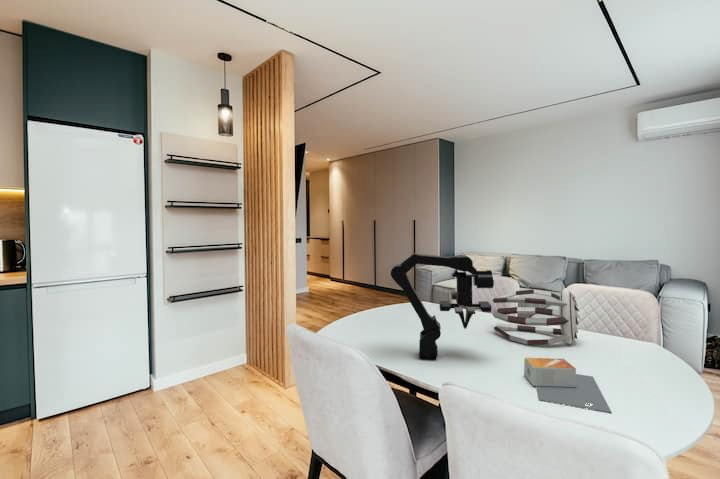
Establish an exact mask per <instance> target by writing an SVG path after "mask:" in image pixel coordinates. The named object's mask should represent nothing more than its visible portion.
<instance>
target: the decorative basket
mask: <svg viewBox="0 0 720 479" xmlns="http://www.w3.org/2000/svg"><path fill="white" fill-rule="evenodd" d="M531 294H535V295H540V296H545V297H550V298H553V299H548V298H546V299H545V298H535V297H534V298H533V297H532V298H531V297H515V296H523V295H531ZM554 299H556V300H554ZM492 302H493V303H494V304H497V303H498V304H500V303H502V304H503V303H513V304H514V303H517V304H519V303H520V304H532V305H533V304H534V305H545V306H555V307H558V310H557V309H554V308H545V307H537V306H532V307H531V306H526V307H525V306H514V307H502V308H497V310H496V311H493V313H492V314H491V315H492V316H493V317H494V318H495V319H498V320H500V321H504V322H507V323H499V322H497V324H496V325H495V326H494V327H493V330H494V331H496V332H497V333H499V334H500V335H502V336H504V337H505V338H507V339H508V340H510V341H512V342H517V343H519V344H523V345H527V346H542V345H544V346H545V345H546V346H547V345H548V346H549V345H552V344H555V343H560V342H563V341H564V342H565V343H566V344H567V345H571V344H572V343H573V344H575V345H577V343H576V340H575V339H577V340H578V335H577V334H579V330H578V326H577V325H579V321H578V318H579V319H580V316H579V314H578V312H580V310H579V308H578V307H579V305H578V303H577V301H576V296H575V295H574V294H573V293H572V292H571V290H569V288H567V287H565V288H563V289H562V291H561V293H560V295H557V294H556V293H554V292H551V291H544V290H539V289H526V290H525V289H524V290H515V291H513V292H512V291H511V292H509V293H505V294H502V295H499V296H497V297H494V298H492ZM515 314H529V315H532V314H534V315H535V314H536V315H543V316H549V317H548V318H546V317H545V318H544V317H543V318H542V317H539V318H538V317H523V316H522V317H521V316H516V315H515ZM510 323H511V324H510ZM545 326H546V327H545ZM549 326H559V327H560V328H552V327H549ZM505 330H506V331H516V332H525V333H535V334H545V335H555V337H552V338H549V339H545V338H544V339H525V338H521V337H518V336H513V335H511V334H509V333H507V332H506V331H505Z"/></svg>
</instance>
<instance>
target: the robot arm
mask: <svg viewBox="0 0 720 479" xmlns="http://www.w3.org/2000/svg"><path fill="white" fill-rule="evenodd" d="M416 265H425V266H436V267H445V268H446V267H447V268H450V269H453V270H454V271H453V272H452V273H451V277H452V278H456V291H453V290H452V291H451V300H452V301H453V300H454V301H455V302H456V303H453V302H452V303H451V301H450V300H440V301H439V311H441V312H450V310H452V309H454V313H455V314H458V316H459V318H460V320H461V324H462V326H463V329H464V330H466V329H467V327H468V325H469V323H470V320H471V318H472V316H473V315H475V314H476V310H480V311H482V312H483V313H491V312H492V305H491V303H490V302H489V301H485V300H483V301H482V300H480V301H478V302H477V303H473V286H475V287H476V288H477V289H493V288H494V285H495V283H494V282H495V280H494V277H493V271H492V270H489V269H487V270H477V268H475V267H474V263H473V260H472V258H470V257H469V256H468V255H466V254H460V255H459V254H458V255H448V256H443V255H436V254H435V255H433V254H432V255H431V254H424V253H423V254H422V253H421V254H419V253H417V252H414V253H412V254H410V256H409V257H408V258H406V259H405V260H404V261H402V262H401V263H400V264H399V263H397V264H395V265H393V267H392V268H391V271H390V276H391V278H392V280H394V283H396V284H397V285H398V287H400V288H401V289H402V291H403V293H404V294H405V296H406V297H407V299H408V301H409V303H410V304H411V306H412V308H413V310H414V311H415V313H416V314H417V316H418V319H419V320H420V322H421V325H422V330H421V331H420V333H419V341H418V343H419V344H418V345H419V346H418V347H419V349H418V350H419V352H418V358H419V360H426V361H427V360H430V361H436V360H437V358H438V344H437V342H436V341H437V340H438V339H440V337H441V334H442V333H441V329H442V328H441V323H440V322H439V321H438V320H437V317H436V315H435V314H434V315H433V316H432V315H431V314H430V313H429V312H428V310H427V308H426V307H425V305H424V303H423V302H422V300H421V299H420V297H419V295H418V293H417V292H416V290H415V288H414V287H413V285H412V283H411V280H410V277H409V274H408V272H409V271H410V270H412V269H413V268H414V267H415V266H416ZM466 272H468V273H469V274H467V273H466ZM463 310H465V312H464V311H463ZM464 313H465V314H464Z"/></svg>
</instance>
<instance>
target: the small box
mask: <svg viewBox="0 0 720 479" xmlns="http://www.w3.org/2000/svg"><path fill="white" fill-rule="evenodd" d="M523 365H524V367H523V375H524V377H525V378H526V379H527V380H528V381H529V383H530V384H532V386H533V387H536V386H552V387H576V374H577V368H576V367H575V366H574V365H572V364H571V363H569V361H567V360H566V359H565V358H552V357H551V358H549V357H524V362H523Z"/></svg>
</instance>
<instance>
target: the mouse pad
mask: <svg viewBox="0 0 720 479" xmlns="http://www.w3.org/2000/svg"><path fill="white" fill-rule="evenodd" d="M535 387H536V392H537V399H539V400H541V402H545V401H547V403H550V402H554V403H553V404H556V403H560V404H559V405H562V404H565V405H564V406H567V405H571V406H570V407H573V406H575V407H574V408H578V407H582V408H581V409H584V408H588V409H587V410H590V409H594V410H593V411H595V410H598V411H597V412H601V411H603V412H602V413H607V412H610V413H609V414H612V411H611V409H610V407H609V405H608V403H607V401H606V399H605V397H604V395H603V393H602V391H601V389H600V387H599V385H598V383H597V382H596V380H595V377H594V376H593V375H592V376H591V375H584V374H579V373H578V374H577V373H576V387H552V386H535ZM539 400H538V401H539ZM586 403H587V404H586ZM588 403H589V404H588ZM590 403H591V404H593V405H592V406H590ZM585 404H586V405H589V406H590V407H589V406H585Z"/></svg>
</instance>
